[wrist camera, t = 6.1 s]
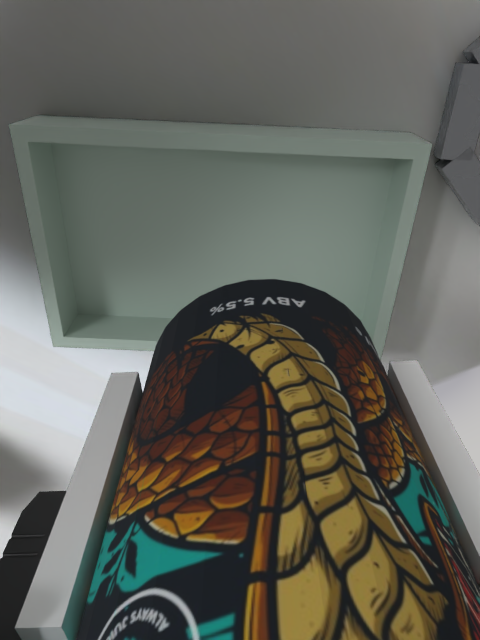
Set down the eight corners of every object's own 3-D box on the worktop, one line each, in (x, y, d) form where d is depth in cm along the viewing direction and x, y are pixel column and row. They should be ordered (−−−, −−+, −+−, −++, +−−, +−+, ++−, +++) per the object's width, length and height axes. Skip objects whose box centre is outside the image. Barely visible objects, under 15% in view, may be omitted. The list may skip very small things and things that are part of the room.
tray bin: (72, 317, 34) (53, 346, 30) (38, 115, 27) (8, 124, 23) (367, 330, 34) (380, 361, 30) (410, 132, 27) (432, 143, 23)
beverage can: (382, 262, 13) (856, 1014, 3) (359, 436, 17) (539, 1041, 7) (140, 271, 13) (-175, 1017, 3) (168, 441, 17) (64, 1042, 7)
